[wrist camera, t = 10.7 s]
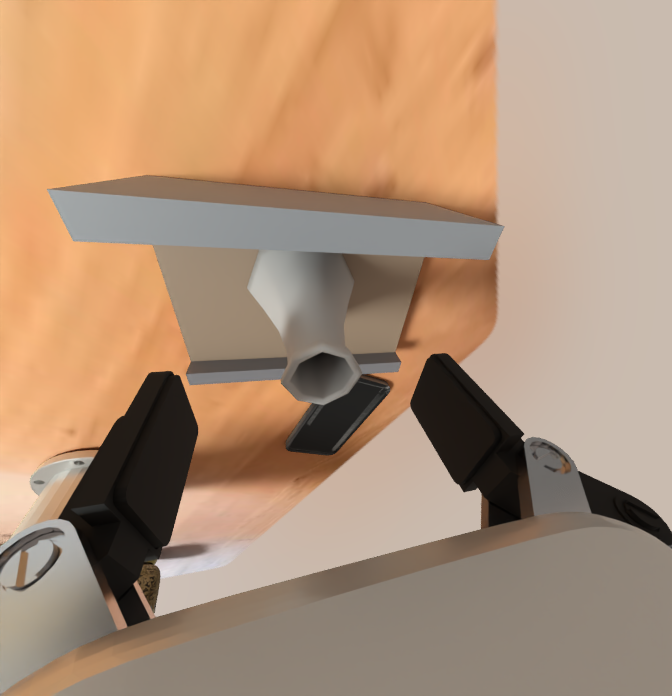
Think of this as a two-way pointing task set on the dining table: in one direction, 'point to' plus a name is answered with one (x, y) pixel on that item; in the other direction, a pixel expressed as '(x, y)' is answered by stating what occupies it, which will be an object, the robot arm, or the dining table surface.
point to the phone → (337, 418)
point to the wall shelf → (271, 234)
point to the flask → (308, 319)
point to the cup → (150, 582)
